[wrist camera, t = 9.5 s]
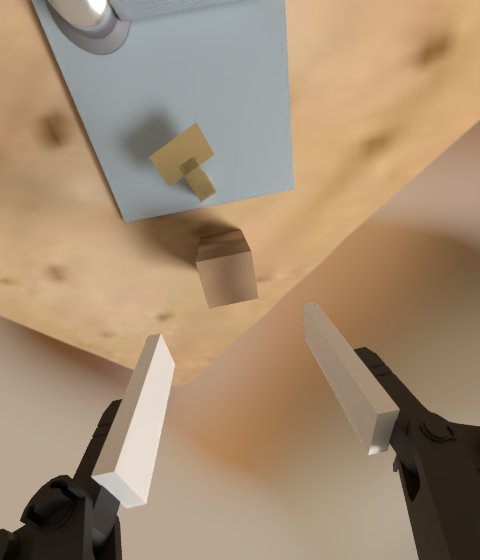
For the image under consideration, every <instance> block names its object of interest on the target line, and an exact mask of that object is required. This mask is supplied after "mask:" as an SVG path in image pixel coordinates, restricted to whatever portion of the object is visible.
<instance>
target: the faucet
mask: <svg viewBox="0 0 480 560" xmlns="http://www.w3.org/2000/svg"><path fill="white" fill-rule="evenodd" d="M233 1H239V0H48V2H49V3H50V4H51V5H52V7H53V8H54V9H55V10H56V11H57V12H58V13H59V14H60V15H61V16H62V17H63V18H64V19H65V20H66V21H67V22H68V23H69V24H70V25H71V26H72V27H73V28H74V29H75V30H76V31H77V32H79V33H80V34H82V35H84V36H86V37H88V38H91V39H102V38H105V37H107V36H108V35H109V34H110V33H111V32H112V31H113V30H114V28H115V26H116V23H117V19H118V16H119V18H120V20H121V21H128V20H133V19H139V18H144V17H150V16H155V15H161V14H166V13H172V12H178V11H183V10H189V9H194V8H200V7H205V6H211V5H216V4H222V3H228V2H233Z"/></svg>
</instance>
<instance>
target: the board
mask: <svg viewBox="0 0 480 560" xmlns="http://www.w3.org/2000/svg"><path fill="white" fill-rule="evenodd" d="M32 3H33V5H34V8H35V10H36V12H37V15H38V17H39V19H40V22H41V24H42V27H43V29H44V31H45V34H46V36H47V38H48V41H49V43H50V45H51V48H52V50H53V53H54V55H55V57H56V60H57V62H58V64H59V67H60V69H61V72H62V74H63V76H64V79H65V81H66V83H67V86H68V88H69V91H70V93H71V95H72V98H73V100H74V102H75V105H76V107H77V110H78V112H79V114H80V117H81V119H82V121H83V124H84V126H85V128H86V131H87V133H88V136H89V138H90V140H91V143H92V145H93V147H94V150H95V152H96V155H97V157H98V159H99V162H100V164H101V166H102V169H103V171H104V174H105V176H106V178H107V181H108V183H109V185H110V188H111V190H112V193H113V195H114V197H115V200H116V202H117V204H118V207H119V209H120V212H121V214H122V216H123V219H124V221H125V223H126V222H131V221H136V220H142V219H147V218H152V217H157V216H162V215H167V214H172V213H177V212H182V211H187V210H192V209H197V208H202V207H208V206H213V205H218V204H223V203H228V202H233V201H238V200H243V199H248V198H253V197H258V196H263V195H268V194H273V193H279V192H284V191H289V190H294V179H293V158H292V138H291V117H290V96H289V75H288V54H287V34H286V13H285V0H239V1H233V2H228V3H222V4H216V5H211V6H205V7H200V8H194V9H189V10H183V11H178V12H172V13H166V14H161V15H155V16H150V17H144V18H139V19H133V20H128V21H121V20H120V18H119V16H118V19H117V23H116V26H115V28H114V30H113V31H112V32H111V33H110V34H109V35H108V36H107V37H105V38H102V39H91V38H88V37H86V36H84V35H82V34H80V33H79V32H77V31H76V30H75V29H74V28H73V27H72V26H71V25H70V24H69V23H68V22H67V21H66V20H65V19H64V18H63V17H62V16H61V15H60V14H59V13H58V12H57V11H56V10H55V9H54V8H53V7H52V5H51V4H50V3H49V2H48V0H32ZM194 123H197V124H198V126H199V128H200V130H201V131H202V133H203V135H204V137H205V139H206V140H207V142H208V144H209V146H210V148H211V149H212V151H213V153H214V156H213V157H212V158H210V159H209V160H207V161H206V162H204V163H203V164H202V165H200V167H201V169H202V171H203V172H204V174H207V175H208V177H209V178H210V180H211V182H212V183H213V185H214V187H215V188H216V190H217V192H216V193H214V194H213V195H211V196H210V197H208V198H207V199H205V200H204V201H202V202H200V200H199V198H198V197H197V195H196V194H195V192H194V191H193V189H192V188H191V186H190V185H189V183H188V181H187V180H186V178H185V177H183V178H182V179H180V180H179V181H177V182H176V183H174V184H173V185H172V186H169V185H168V184H167V182H166V181H165V180H164V178H163V177H162V175H161V174H160V172H159V171H158V170H157V168H156V167H155V165H154V164H153V162H152V161H151V160H150V158H149V157H150V156H151V155H153V154H154V153H155V152H157V151H158V150H159V149H161V148H162V147H163V146H165V145H166V144H167V143H169V142H170V141H172V140H173V139H174V138H176V137H177V136H178V135H180V134H181V133H182V132H184V131H185V130H186V129H188V128H189V127H190V126H192V125H193V124H194Z"/></svg>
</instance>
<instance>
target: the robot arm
mask: <svg viewBox="0 0 480 560" xmlns="http://www.w3.org/2000/svg"><path fill="white" fill-rule="evenodd" d="M303 317H304V318H303V319H304V338H305V340H306V342H307V344H308V345H309V347H310V349H311V351H312V352H313V355H314V356H315V358H316V360H317V362H318V364H319V365H320V367H321V369H322V371H323V373H324V375H325V377H326V378H327V380H328V382H329V384H330V386H331V388H332V389H333V391H334V393H335V395H336V397H337V399H338V400H339V402H340V404H341V406H342V408H343V409H344V411H345V413H346V415H347V417H348V419H349V421H350V422H351V424H352V426H353V428H354V430H355V431H356V433H357V435H358V437H359V439H360V441H361V443H362V444H363V446H364V448H365V450H366V452H367V453H368V455H370V454H375V453H379V452H384V451H387V450H388V446H389V443H390V444H391V446H392V447H393V449H394V450H395V452H396V454H397V455H396V458H395V461H394V463H393V471H394V472H397V470H399V474H400V479H401V483H402V488H403V492H404V496H405V501H406V505H407V510H408V514H409V518H410V522H411V527H412V531H413V536H414V540H415V545H416V549H417V553H418V558H419V560H480V426H472V425H464V424H457V423H452V422H449V421H447V420H445V419H444V418H442V417H441V416H439V415H437V414H435V413H432V412H430V411H428V410H427V409H426V408H425V407H424V406H423V405H422V404H421V403H420V402H419V401H418V400H417V399H416V397H415V396H414V395H413V394H412V393H411V392H410V391H409V390H408V389H407V387H406V386H405V385H404V384H403V383H402V382H401V381H400V380H399V379H398V377H397V376H396V375H395V374H393V373H392V371H391V370H390V369H389V367H388V366H386V365H385V363H384V362H383V361H382V360H381V359H380V357H379V356H378V355H377V354H376V353H373V352H372V351H371V350H369V349H368V348H366V347H363V348H359V349H354V350H353V349H352V348H351V347H350V345H349V344H348V343H347V341H346V340H345V339H344V338H343V336H342V335H341V334H340V332H339V331H338V330H337V329H336V327H335V326H334V325H333V324H332V323H331V321H330V320H329V318H328V317H327V316H326V315H325V313H324V312H323V311H322V310H321V308H320V307H319V306H318V305H317V303H316V302H311V303H306V304H303ZM174 367H175V364H174V361H173V359H172V357H171V355H170V353H169V350H168V348H167V346H166V344H165V342H164V339H163V337H162V335H161V333H160V334H156V335H151V336H148V338H147V340H146V343H145V345H144V348H143V350H142V353H141V355H140V358H139V360H138V362H137V365H136V367H135V370H134V372H133V375H132V377H131V380H130V382H129V384H128V387H127V389H126V392H125V394H124V397H123V399H120V400H116V401H113V402H112V403H111V404H110V405H109V407H108V408H107V409H106V410H105V412H104V413H103V415H102V417H101V419H100V421H99V424H98V428H96V430H95V432H94V434H93V439H91V441H90V443H89V445H88V447H87V449H86V452H85V454H84V456H83V458H82V460H81V462H80V465H79V467H78V469H77V471H76V473H75V475H74V477H73V479H72V478H70V477H69V476H68V475H60V476H58V477H56V478H53V479H51V480H50V481H49V482H47V483H46V484H45V485H44V486H42V487H41V488H40V489H39V490H38V492H37V493H36V494H35V495H34V496H33V497H32V499H31V500H30V502H29V503H28V505H27V506H26V508H25V509H24V512H23V514H22V517H21V519H20V521H21V522H23V523H25V524H26V525H24V526H23V527H21V528H19V529H18V530H16V531H14V532H13V533H11V532H9V531H7V530H5V529H0V560H122V549H121V532H120V521H119V518H118V516H117V511H118V508H119V505H120V503H121V504H122V505H123V506H124V507H126V508H130V507H135V506H139V505H144V504H146V503H147V498H148V493H149V488H150V483H151V478H152V474H153V469H154V464H155V458H156V454H157V450H158V445H159V440H160V435H161V430H162V425H163V421H164V416H165V411H166V406H167V401H168V396H169V391H170V387H171V382H172V377H173V372H174Z"/></svg>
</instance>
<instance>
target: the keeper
mask: <svg viewBox="0 0 480 560" xmlns="http://www.w3.org/2000/svg"><path fill="white" fill-rule="evenodd" d="M213 156H214V153H213V151H212V149H211V148H210V146H209V144H208V142H207V140H206V139H205V137H204V135H203V133H202V131H201V130H200V128H199V126H198V124H197V123H194V124H193V125H192V126H190V127H189V128H188V129H186V130H185V131H184V132H182V133H181V134H180V135H178V136H177V137H176V138H174V139H173V140H172V141H170V142H169V143H167V144H166V145H165V146H163V147H162V148H161V149H159V150H158V151H157V152H155V153H154V154H153V155H151V156H150V157H149V158H150V160H151V161H152V162H153V164H154V165H155V167H156V168H157V170H158V171H159V172H160V174H161V175H162V177H163V178H164V180H165V181H166V182H167V184H168V185H169V186H172V185H173V184H174V183H176V182H177V181H179V180H180V179H182V178H183V177H185V178H186V180H187V181H188V183H189V185H190V186H191V188H192V189H193V191H194V192H195V194H196V195H197V197H198V198H199V200H200V202H202V201H204V200H205V199H207V198H208V197H210V196H211V195H213V194H214V193H216V192H217V190H216V188H215V187H214V185H213V183H212V182H211V180H210V178H209V177H208V175H207V174H204V172H203V171H202V169H201V167H200V165H202V164H203V163H204V162H206V161H207V160H209V159H210V158H212V157H213Z"/></svg>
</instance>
